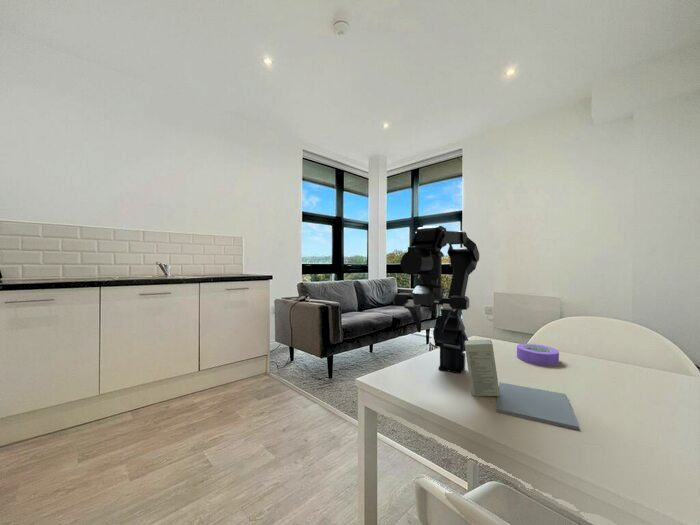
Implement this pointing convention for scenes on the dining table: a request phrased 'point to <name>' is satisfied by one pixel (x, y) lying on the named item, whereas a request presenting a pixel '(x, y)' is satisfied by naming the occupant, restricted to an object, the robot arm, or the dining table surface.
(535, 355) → the masking tape
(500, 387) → the mat
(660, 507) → the dining table surface
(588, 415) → the dining table surface
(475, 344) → the skincare box
